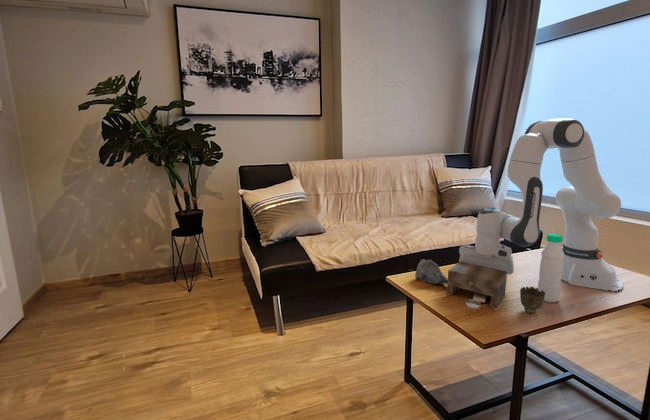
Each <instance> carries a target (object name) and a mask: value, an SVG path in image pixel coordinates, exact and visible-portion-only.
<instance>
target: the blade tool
mask: <svg viewBox="0 0 650 420" xmlns="http://www.w3.org/2000/svg"><path fill="white" fill-rule="evenodd" d="M487 296H488V295H486V294H482V293H478V292H474V294H473V296H472V300H476V301H479V302H480V303H485V302H486V298H487Z"/></svg>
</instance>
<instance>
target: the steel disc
mask: <svg viewBox="0 0 650 420" xmlns="http://www.w3.org/2000/svg"><path fill="white" fill-rule="evenodd" d="M465 306H466V307H467V308H469V309H472V310H479V309H481V306H482V302H479V301H476V300H473V299H467V300H465Z"/></svg>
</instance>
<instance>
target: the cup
mask: <svg viewBox="0 0 650 420" xmlns="http://www.w3.org/2000/svg"><path fill="white" fill-rule="evenodd" d="M519 290H520V291H519V292H520V293H519V294H520V296H519V297H520V303H521V306H522V307H524V308H523V309H524V311H525V312H526V313H527V314H531V315H532V314H533V315H535V314H536V313H537V310H539V309H541V308H542V306H543V304H544V301H543V300H544V296H545V292H543V290H542V291H541V292H540V291H538V287H536V288H535V287H534V286H530V287H529V286H522V287H521V288H520V289H519Z"/></svg>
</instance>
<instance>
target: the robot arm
mask: <svg viewBox="0 0 650 420" xmlns="http://www.w3.org/2000/svg"><path fill="white" fill-rule="evenodd" d="M591 138H592V137H591V135H590V134H589V132H588V131H587V130H586V129H585V128H584V126H583V124H582V123H581V122H580V121H579V120H577V119H574V118H569V117H568V118H550V119H548V120H547V119H546V120H539V121H536V122H533V123H532V124H530V125H529V126H528V127H527V128H526V129H525V133H524V134H522V135H521V136H519V137H518V138H517V141H516V143H515V144H514V146H513V148H512V151H511V154H510V157H509V162H508V166H507V177H508V179H509V181H510V182H511V183H512V184H513V185H515V186H516V187H517V188H518V190H520V192H521V195H522V205H521V213H520V217H517V216H515V215H511V214H509V213H506V212H504V211H502V210H501V209H500V208H497V207H485V208H482V209H480V210H479V213H478V215H477V220H476V227H475V228H476V229H475V230H476V231H475V232H476V237H475V242H474V243H475V245H467V244H463V245H461V246H460V247H459V248H458V249H459V251H458V253H459V261H460V262H464V263H469V264H474V265H479V266H483V267H488V268H493V269H498V270H502V271H507V275H512V274H513V273H514V268H515V267H514V266H515V264H514V257H513V255H512V252H513V251H512V248H511V247H509V246H507V245H504V244H501V239H504V240H507V241H508V242H511V243H513V244H515V245H517V246H518V247H521V248H528V247H530V246H532V245H533V244H535V243H536V242H537V241H538V239H539V238H540V231H541V230H540V214H541V210H542V209H541V207H542V199H543V190H544V187H543V181H542V179H541V169H542V165H543V160H544V154H545V153H546V152H547V150H548V149H558V151H559V159H560V161H561V168H562V173H563V177H564V179H565V180H566V181H567V182H568V183H570V186H569V185H567V186H563V187H561V188H560V189H558V191H557V192H556V194H555V197H554V198H555V200H554V201H555V203H556V205H558V207H559V209H560V210H561V212H562V217H563V219H564V225H565V229H564V230H565V232H564V241H563V243H562V246H561V248H562V251H563V252H564V259H563V271H562V277H561V281H565V282H566V283H568V284H569V285H571V286H575V287H583V288H587V289H589V288H590V289H596V290H601V289H602V290H603V291H608V290H611V291H610V292H615V291H617V292H619V291H618V290H620V291H622V290H623V288H622V287H624V286H623V285H624V284H623V282H622V281H621V280H620V279H619V278H617V276H618V275H617V272H616V270H615V268H614V267H613V266H612V265H611V264H609V263H608V262H606V261H605V260H604V259H603V257H604V253H603V251H602V249H599V248H598V247H597V245H598V239H599V232H600V231H599V229H598V227H597V226H596V224H594V222H593V220H592V218H596V219H610V218H613V217H615V216H616V215H617V214H618V213H619V212H620V210H621V207H622V201H621V198H620V197H619V195H617V194H616V193H614V192H613V191H612V190H611V189H610V187H608V185H607V184H606V182H605V180H603V178H602V175H601V173H600V171H599V168H598V162H597V156H596V152H595V149H594V144H593V141H592V139H591ZM459 261H458V262H459ZM621 289H622V290H621Z"/></svg>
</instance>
